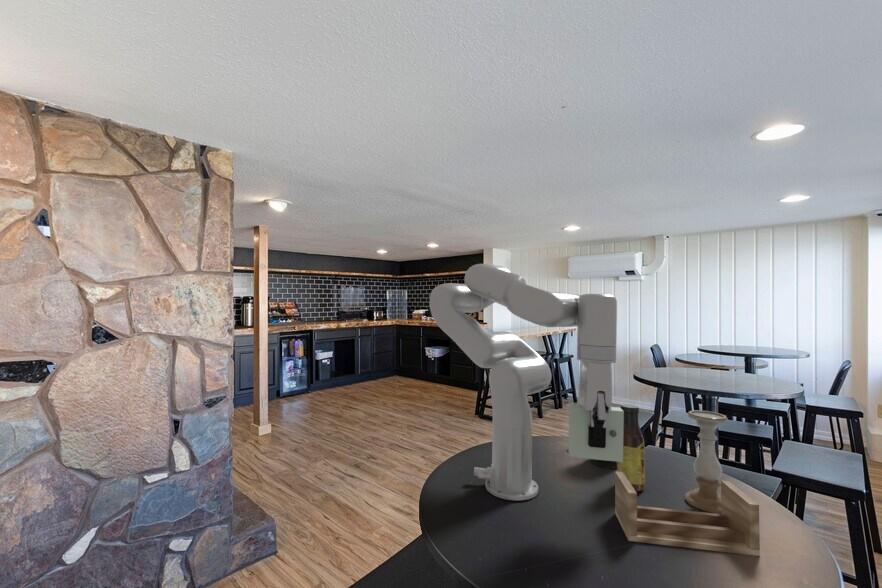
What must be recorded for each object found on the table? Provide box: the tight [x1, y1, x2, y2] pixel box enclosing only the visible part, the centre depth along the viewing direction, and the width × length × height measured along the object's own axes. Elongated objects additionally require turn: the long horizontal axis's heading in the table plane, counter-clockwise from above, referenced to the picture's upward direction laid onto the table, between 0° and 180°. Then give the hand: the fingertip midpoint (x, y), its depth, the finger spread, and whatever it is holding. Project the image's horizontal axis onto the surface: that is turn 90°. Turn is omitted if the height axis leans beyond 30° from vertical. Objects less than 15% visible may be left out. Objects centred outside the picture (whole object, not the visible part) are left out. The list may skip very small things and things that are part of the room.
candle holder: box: [685, 409, 729, 514], centre depth 89 cm, size 9×9×20 cm
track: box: [614, 470, 761, 557], centre depth 77 cm, size 22×10×9 cm, turn 79°
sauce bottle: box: [616, 403, 646, 493], centre depth 98 cm, size 6×6×20 cm
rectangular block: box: [567, 403, 624, 462], centre depth 80 cm, size 10×4×10 cm, turn 79°
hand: (594, 442), depth 80 cm, fingers closed on rectangular block, 3 cm apart
